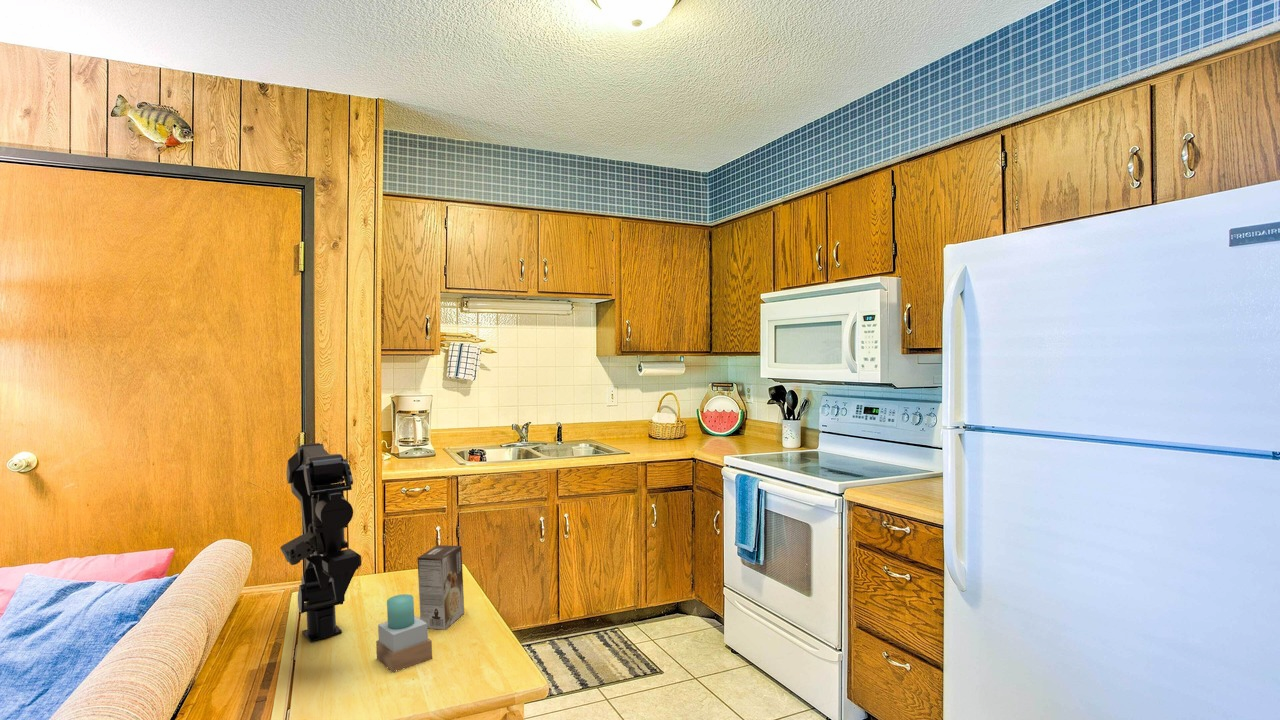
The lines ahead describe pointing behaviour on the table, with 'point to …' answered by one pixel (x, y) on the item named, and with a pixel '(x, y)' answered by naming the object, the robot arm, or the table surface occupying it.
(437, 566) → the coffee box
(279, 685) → the table surface
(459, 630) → the table surface
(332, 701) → the table surface
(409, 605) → the teal cylinder
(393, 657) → the tower base
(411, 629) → the tower top
